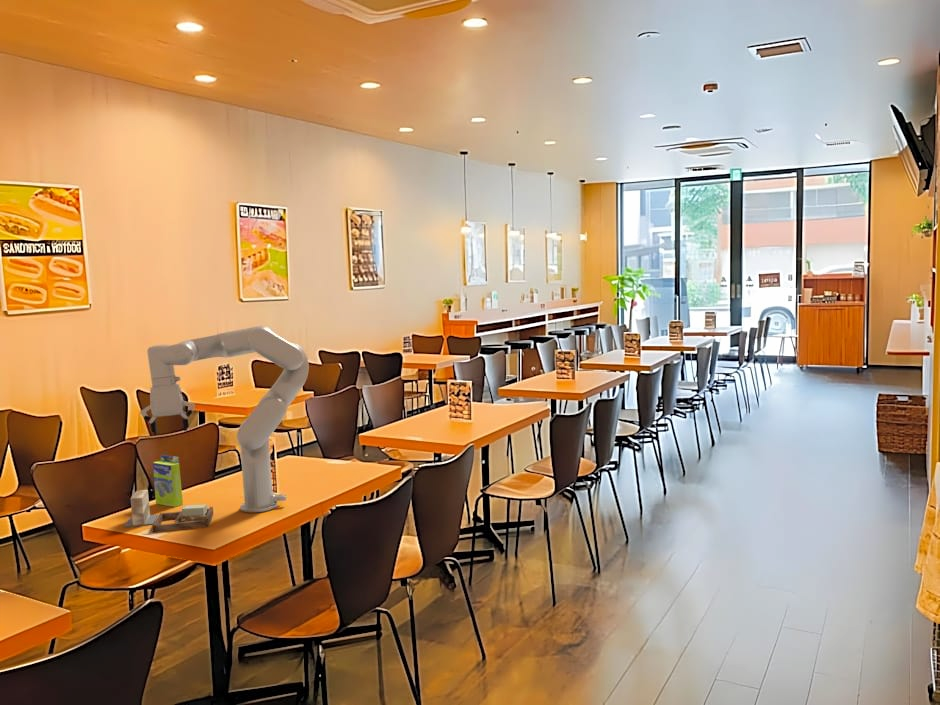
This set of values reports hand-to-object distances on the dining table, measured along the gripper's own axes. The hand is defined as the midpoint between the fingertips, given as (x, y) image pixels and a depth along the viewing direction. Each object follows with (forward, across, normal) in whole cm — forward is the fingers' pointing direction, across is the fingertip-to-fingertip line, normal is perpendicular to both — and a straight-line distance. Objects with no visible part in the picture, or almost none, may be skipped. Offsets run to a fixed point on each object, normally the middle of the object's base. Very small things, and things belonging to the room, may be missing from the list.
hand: (170, 432), depth 266 cm
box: (+29, +6, -16) cm, 33 cm away
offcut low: (+30, -5, +10) cm, 32 cm away
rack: (+29, -2, +9) cm, 30 cm away
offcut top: (+27, -5, +10) cm, 29 cm away
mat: (+28, +13, +3) cm, 31 cm away
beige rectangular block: (+28, +13, +3) cm, 31 cm away
